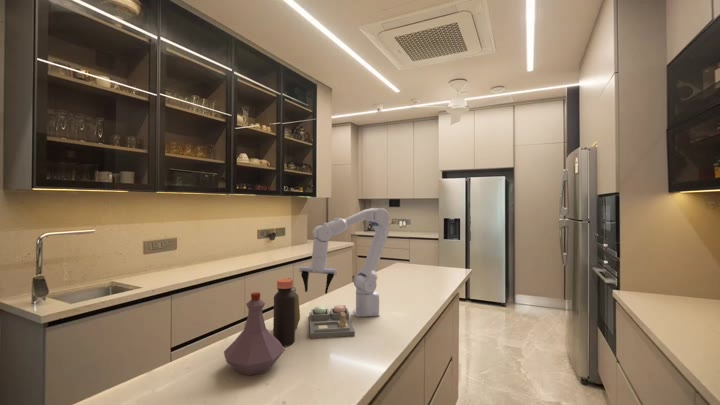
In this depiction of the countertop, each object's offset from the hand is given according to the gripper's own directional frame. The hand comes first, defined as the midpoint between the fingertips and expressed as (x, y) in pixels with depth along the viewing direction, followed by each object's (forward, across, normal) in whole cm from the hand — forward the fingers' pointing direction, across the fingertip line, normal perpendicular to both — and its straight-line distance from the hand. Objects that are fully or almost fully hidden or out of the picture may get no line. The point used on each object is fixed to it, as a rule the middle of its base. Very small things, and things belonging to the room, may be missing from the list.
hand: (316, 292), depth 125 cm
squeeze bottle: (+12, -8, -7) cm, 16 cm away
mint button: (+8, +2, 0) cm, 8 cm away
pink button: (+7, +10, +1) cm, 12 cm away
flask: (+13, -12, -35) cm, 39 cm away
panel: (+11, +7, -4) cm, 13 cm away
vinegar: (+12, -7, -19) cm, 24 cm away
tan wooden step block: (+9, +11, -9) cm, 17 cm away
